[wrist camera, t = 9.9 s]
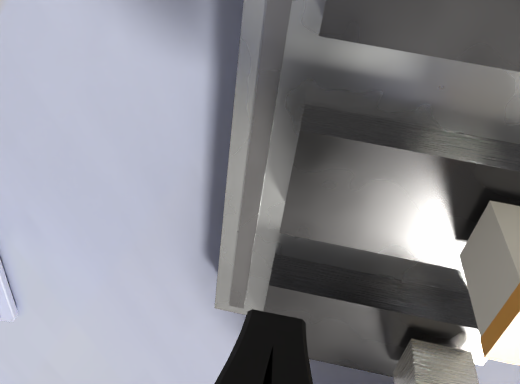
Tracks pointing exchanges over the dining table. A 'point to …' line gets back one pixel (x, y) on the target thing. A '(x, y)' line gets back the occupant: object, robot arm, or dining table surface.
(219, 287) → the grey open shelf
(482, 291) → the handle
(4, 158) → the dining table surface
